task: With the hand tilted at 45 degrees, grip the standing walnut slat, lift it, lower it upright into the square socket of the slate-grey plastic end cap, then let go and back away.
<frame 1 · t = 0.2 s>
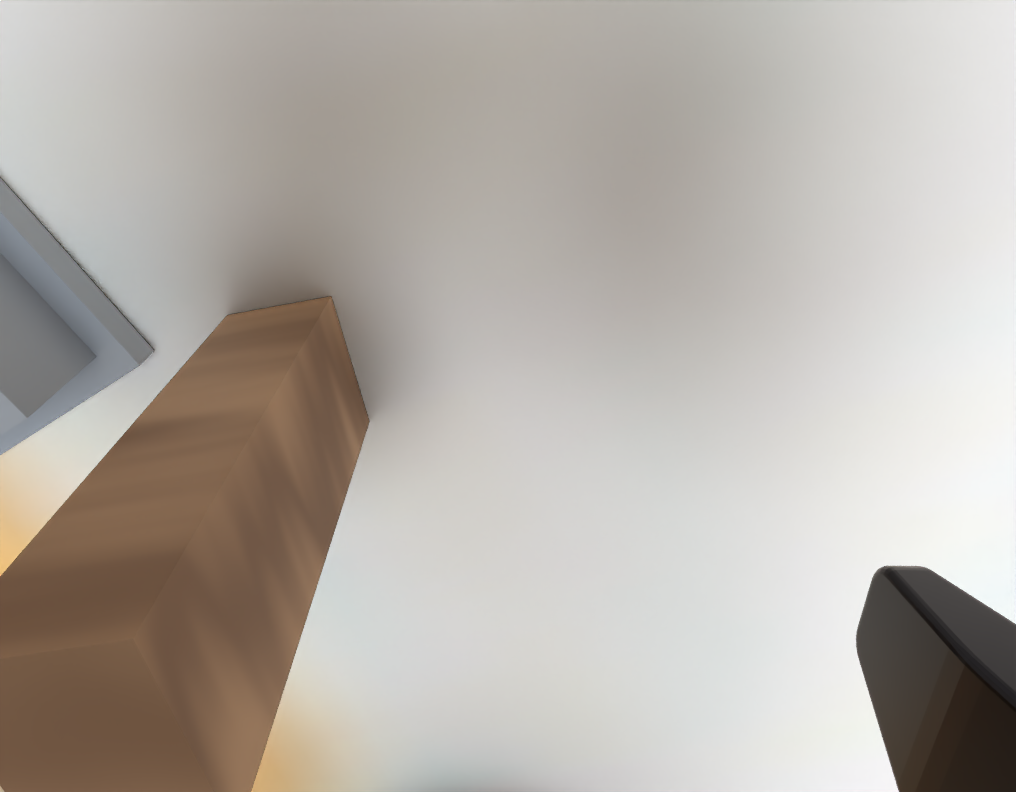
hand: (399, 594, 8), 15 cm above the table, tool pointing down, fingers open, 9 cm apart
slat: (300, 370, 23), on the table
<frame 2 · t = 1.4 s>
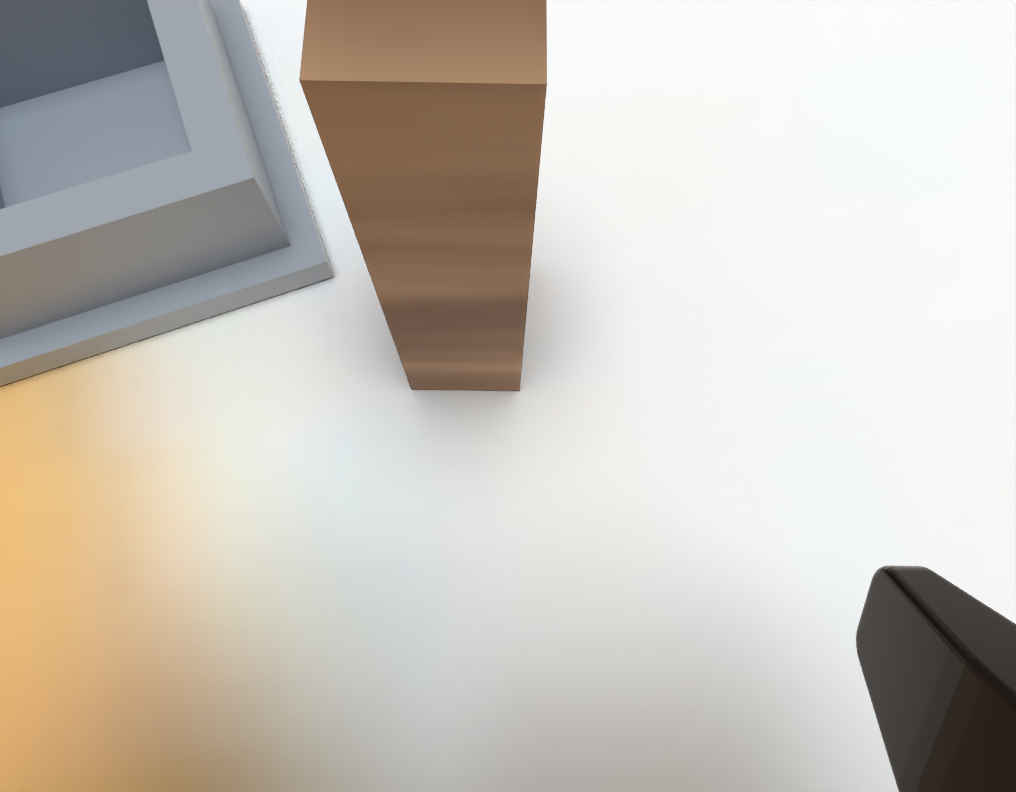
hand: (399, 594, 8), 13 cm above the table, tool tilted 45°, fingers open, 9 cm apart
slat: (467, 323, 23), on the table
end cap: (124, 185, 24), on the table
when the fingers open (8 cm above the table, at t = 7.8 s): slat stays where it is, resting on end cap.
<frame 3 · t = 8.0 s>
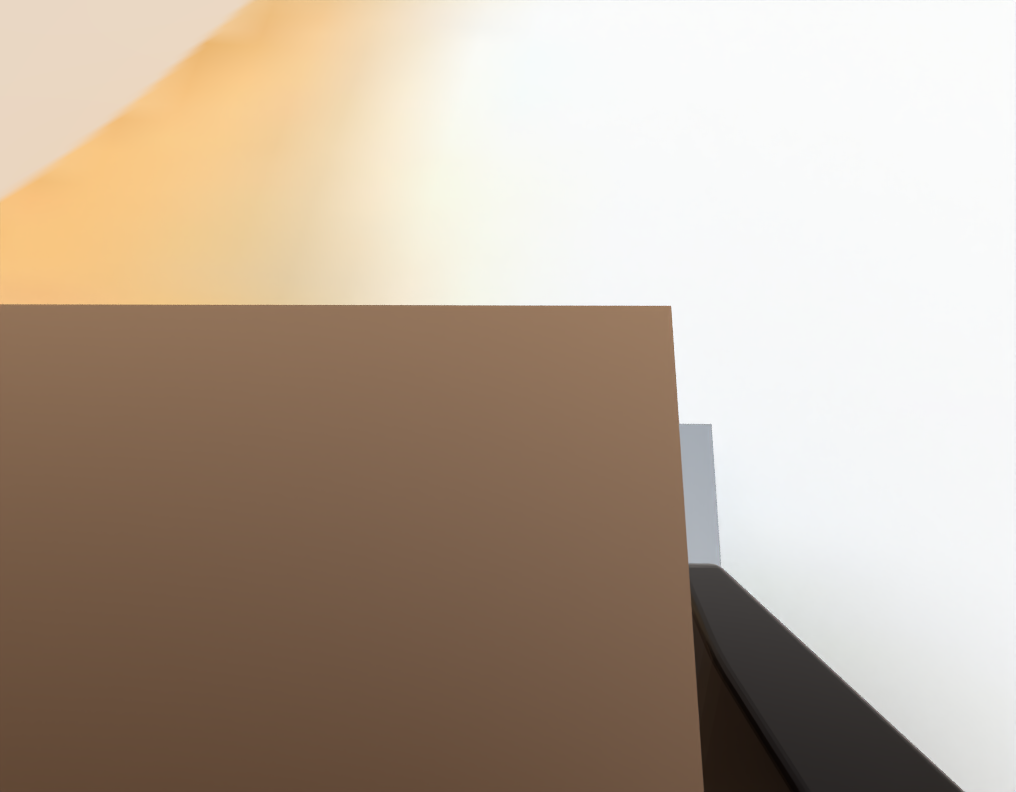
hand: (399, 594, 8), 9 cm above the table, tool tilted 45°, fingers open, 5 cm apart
slat: (445, 697, 14), point 1 cm above the table, touching end cap
end cap: (447, 693, 15), on the table
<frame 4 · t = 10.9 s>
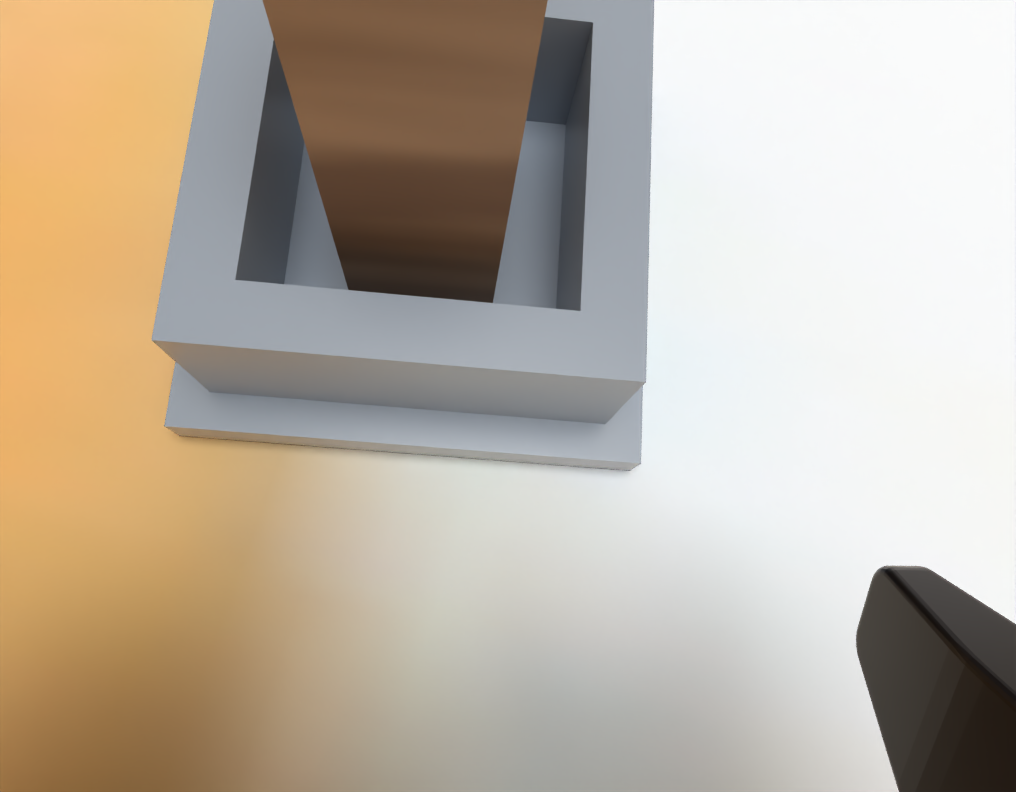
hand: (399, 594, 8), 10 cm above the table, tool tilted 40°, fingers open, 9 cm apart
slat: (429, 228, 18), point 1 cm above the table, touching end cap
end cap: (428, 246, 19), on the table
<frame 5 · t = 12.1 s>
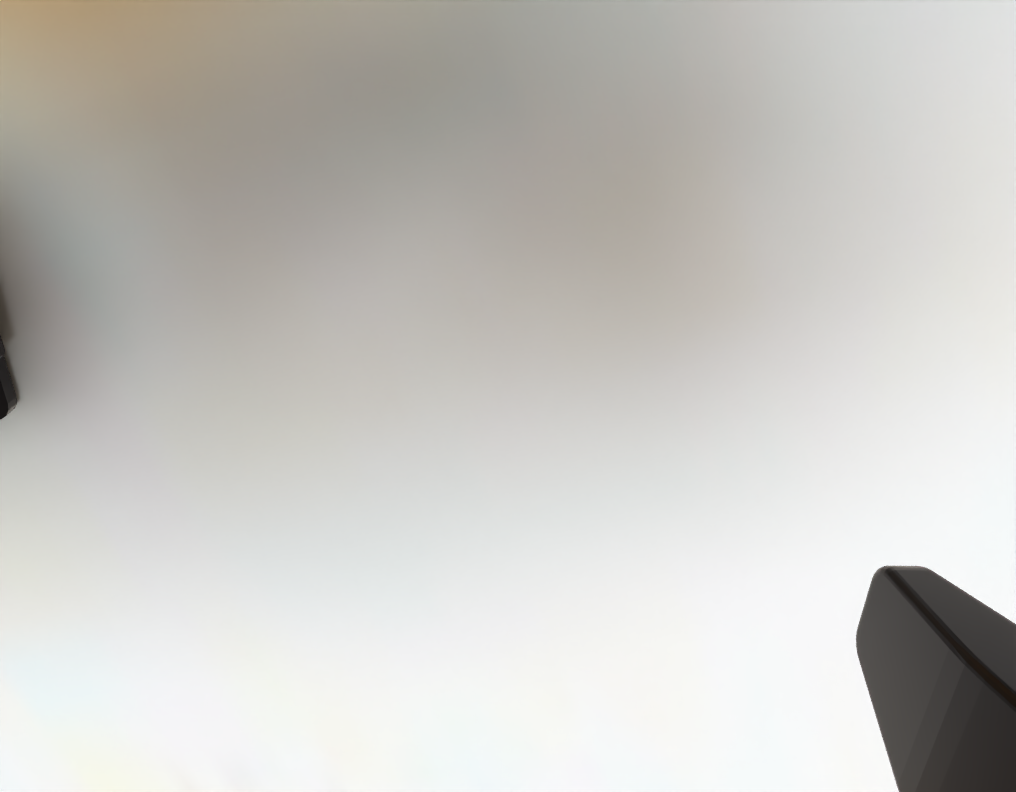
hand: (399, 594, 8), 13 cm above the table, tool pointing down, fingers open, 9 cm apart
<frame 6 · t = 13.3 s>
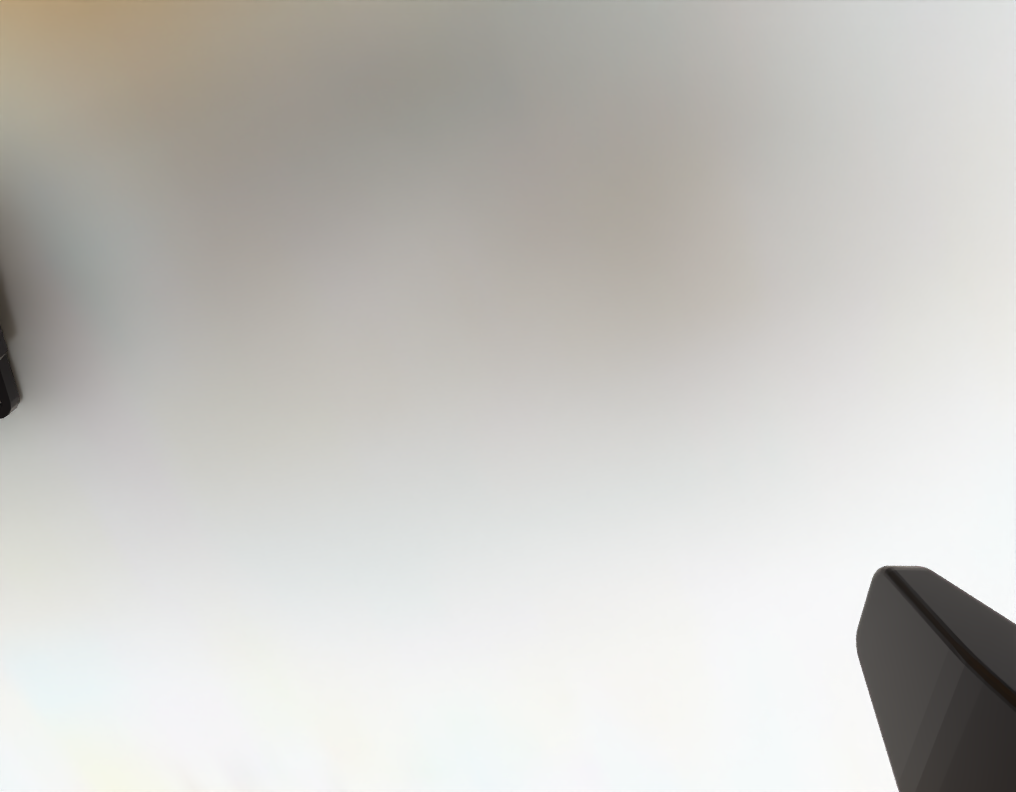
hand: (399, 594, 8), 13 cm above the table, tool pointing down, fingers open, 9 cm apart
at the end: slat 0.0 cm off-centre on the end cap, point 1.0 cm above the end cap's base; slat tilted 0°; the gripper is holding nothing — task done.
